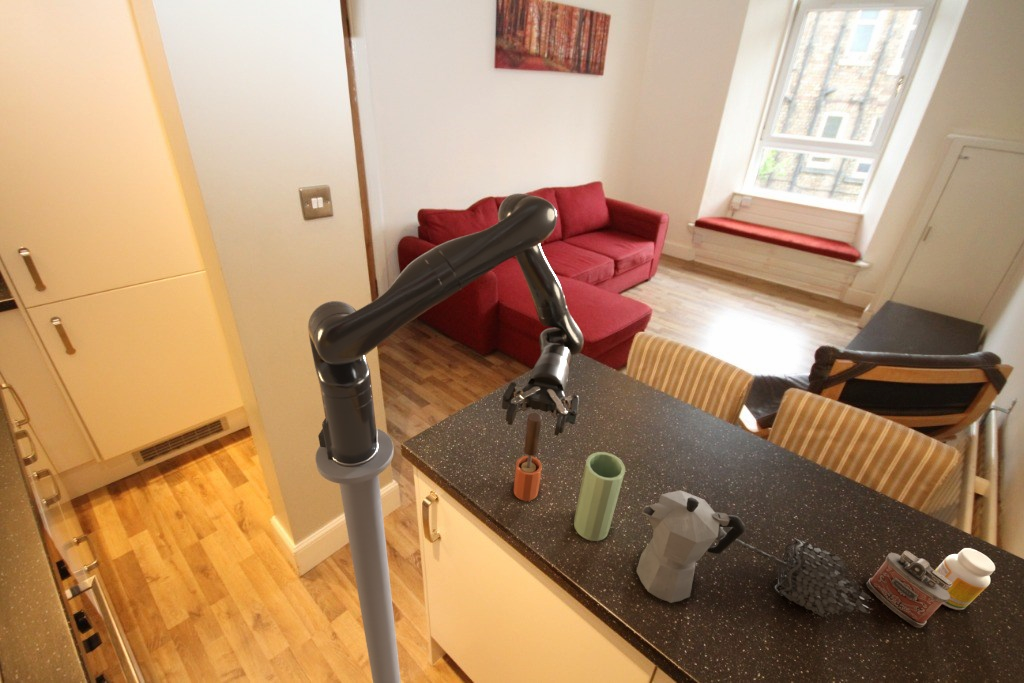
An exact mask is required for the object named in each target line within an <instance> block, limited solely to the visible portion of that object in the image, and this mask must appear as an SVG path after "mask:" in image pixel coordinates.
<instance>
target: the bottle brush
mask: <svg viewBox="0 0 1024 683" xmlns="http://www.w3.org/2000/svg"><path fill="white" fill-rule="evenodd" d="M541 424H542V415H541V414H539V413H537V412H530V413H529V414H528V415H527V422H526V430H525V438H524V447H523V451H524V454H525V455H526V456H528V461H527V462H524V463H523V464H522V465H521V470H522V471H524V472H526V473H533V472H536V466H535V464H534V463H532V462H531V459H532V456H533V457H534V456H536V455H537V454H538V448H539V440H540V434H541Z"/></svg>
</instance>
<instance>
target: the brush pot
mask: <svg viewBox="0 0 1024 683" xmlns="http://www.w3.org/2000/svg"><path fill="white" fill-rule="evenodd" d="M527 461H528V455H524V456H520V457H519V458H518V459H517V461H516V462H515V471H514V480H513V494H514V496H515V497H516V498H517V499H519V500H521V501H523V502H529V501H532V500H534V499H536V498H537V496H538V494H539V491H540V490H539V489H540V483H541V476H542V469H543V468H542V466H543V465H542V462H541V461H540V460H539V459H538V458H537V457H535V456H534V455H533V456H532V459H531V462H532V463H534V464H535V466H536V472H533V473H526V472H524V471H522V470H521V465H522V464H523V463H524V462H527Z"/></svg>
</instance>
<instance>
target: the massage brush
mask: <svg viewBox="0 0 1024 683" xmlns="http://www.w3.org/2000/svg"><path fill="white" fill-rule="evenodd" d="M727 533H728V532H726V531H725V529H724V527H719V531H718V537H717V538H716V539H715V541H716V540H720V539H721V538H722V537H724V536H725V535H726V534H727ZM792 538H793V542H789V543H787V544H786V545H785V546H784V547H785V548H784V555H783V556H782V560H780V559H778V558H777V557H776V556H775V555H770V554H769V553H766V552H764V551H762V550H761V549H758V547H754V546H753V545H750V544H748V543H745V542H743V541H742V540H740V539H739V538H737V539H736V540H735V541H734V542H733V543H736V544H737V545H739V546H740V547H743V548H745V549H748V550H749V551H751V552H754V553H755V554H757V555H759V556H761V557H763V558H764V559H768V560H770V561H773V562H774V563H775V564H776V565H778V566H777V575H778V576H777V584H775V585H774V590H775V591H776V592H777V593H778V594H780V595H781V596H783V597H784V598H786V599H788V601H790V602H794V603H795V604H796V605H799V606H801V607H804V608H805V609H806V610H809V611H810V612H811V611H812V613H814V614H816V615H818V616H820V617H821V618H826V619H827V620H828V619H829V617H828V616H829V615H830V614H832V615H834V614H836V615H838V616H839V615H842V614H843V613H844V612H848V613H851V612H853V613H854V614H855V613H856V612H858V611H861V612H862V613H868V614H871V612H870V611H868V610H867V609H870V610H871V611H873V608H872V607H871V608H870V607H869V606H867V605H865V604H863V602H862V601H866V602H867V603H868V602H870V601H869V600H870V599H871V600H872V601H875V599H874V598H872V597H871V596H870V595H869V594H867V593H866V592H865V591H864V590H863V586H860V584H859V583H858V582H856V581H855V579H854V575H853V572H851V571H849V569H848V567H849V564H848V563H847V562H845V560H844V559H841V558H840V557H839V556H838V555H836V554H832V553H830V552H829V551H827V550H824V549H821V548H820V547H818V546H814V545H812V544H811V543H809V542H806V541H805V540H802V539H798V538H795V537H792ZM795 545H796V546H795ZM789 549H790V550H789ZM845 565H846V566H845ZM850 576H851V577H852V578H851V577H850ZM850 579H851V580H850ZM779 586H781V587H779ZM778 588H779V589H778ZM860 588H861V589H860ZM847 594H849V595H852V597H853V598H856V599H857V600H855V599H853V598H852V597H849V595H847ZM858 598H859V599H858ZM860 599H861V600H862V601H861V600H860ZM854 602H855V603H854ZM866 608H867V609H866ZM840 610H843V611H841V612H840ZM828 612H829V613H828Z"/></svg>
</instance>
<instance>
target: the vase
mask: <svg viewBox="0 0 1024 683" xmlns="http://www.w3.org/2000/svg"><path fill="white" fill-rule="evenodd" d="M625 474H626V467H625V464H624V462H623V461H622V459H620V458H619V457H617V456H616V455H615V454H612V453H610V452H605V451H597V452H592V453H591V454H590V455H588V456H587V458H586V460H585V465H584V469H583V474H582V478H581V484H580V490H579V492H578V493H579V494H578V497H577V503H576V507H575V513H574V518H573V526H574V529H575V531H576V532H577V534H578V535H579V536H580V537H582V538H583V539H585V540H588V541H590V542H597V541H598V542H599V541H602V540H604V539H605V538H607V537H608V535H609V533H610V530H611V529H610V528H611V525H612V521H613V518H614V514H615V510H616V507H617V504H618V499H619V496H620V491H621V488H622V485H623V481H624V477H625Z"/></svg>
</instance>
